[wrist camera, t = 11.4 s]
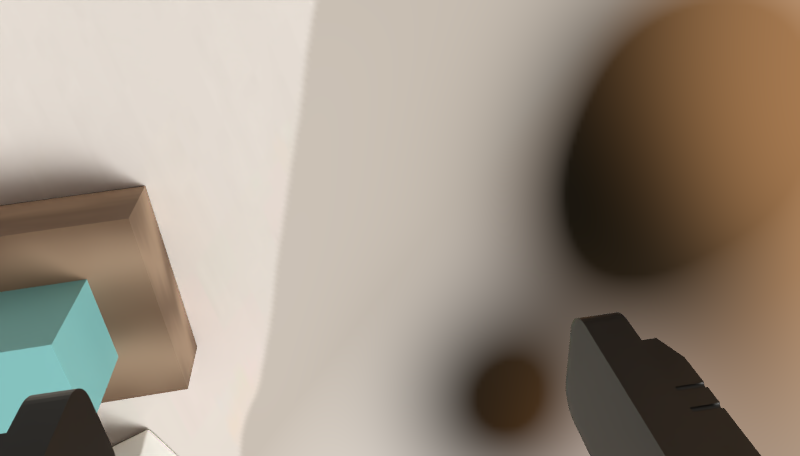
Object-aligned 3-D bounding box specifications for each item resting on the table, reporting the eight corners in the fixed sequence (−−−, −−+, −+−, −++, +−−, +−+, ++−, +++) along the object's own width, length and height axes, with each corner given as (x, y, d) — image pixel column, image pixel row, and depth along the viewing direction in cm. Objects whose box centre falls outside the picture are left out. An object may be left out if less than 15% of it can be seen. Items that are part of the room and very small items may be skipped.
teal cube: (-19, 294, 33) (-73, 363, 28) (86, 279, 34) (51, 344, 29) (21, 372, 36) (-22, 446, 31) (118, 356, 36) (91, 428, 32)
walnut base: (-74, 215, 35) (-115, 252, 31) (145, 186, 36) (128, 218, 32) (11, 375, 41) (-16, 421, 37) (197, 346, 42) (187, 388, 38)
